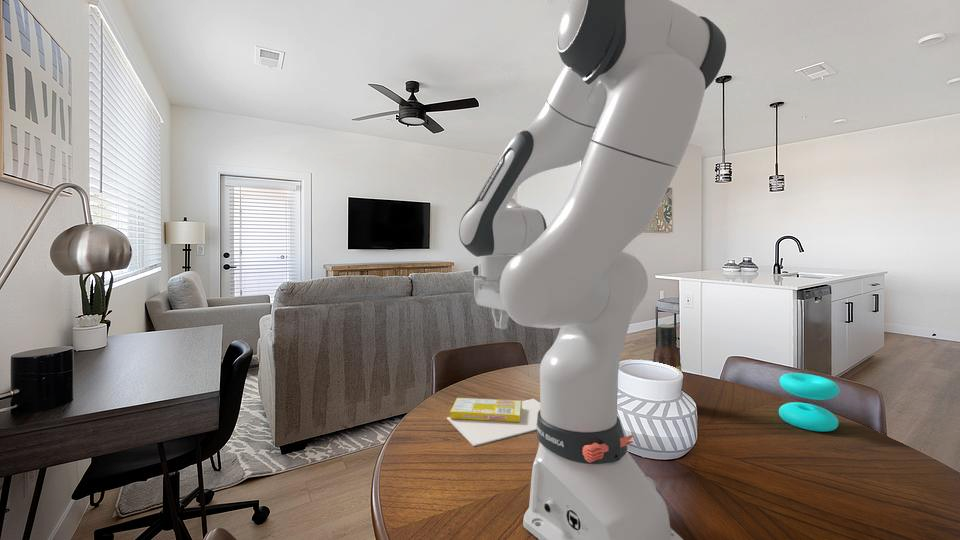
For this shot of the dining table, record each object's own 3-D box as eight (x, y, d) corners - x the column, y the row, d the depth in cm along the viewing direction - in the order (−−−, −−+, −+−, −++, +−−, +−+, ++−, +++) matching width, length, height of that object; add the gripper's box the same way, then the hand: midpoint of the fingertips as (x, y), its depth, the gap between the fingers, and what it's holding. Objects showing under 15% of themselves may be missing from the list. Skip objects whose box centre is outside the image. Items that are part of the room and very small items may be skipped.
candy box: (456, 405, 97) (449, 419, 89) (456, 397, 97) (449, 410, 89) (522, 408, 95) (520, 423, 87) (522, 400, 95) (520, 413, 86)
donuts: (823, 373, 88) (851, 388, 78) (822, 416, 89) (849, 436, 79) (771, 369, 91) (791, 384, 81) (770, 411, 91) (790, 430, 82)
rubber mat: (569, 421, 88) (569, 420, 88) (473, 446, 77) (473, 445, 77) (533, 399, 101) (533, 398, 101) (446, 418, 90) (446, 417, 90)
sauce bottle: (676, 400, 99) (676, 323, 98) (686, 410, 93) (687, 328, 92) (649, 400, 100) (649, 323, 99) (657, 410, 93) (658, 327, 92)
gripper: (536, 268, 82) (538, 334, 82) (491, 267, 100) (492, 321, 101) (511, 269, 79) (512, 337, 79) (468, 268, 97) (470, 323, 98)
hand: (501, 328), depth 90 cm, fingers closed
